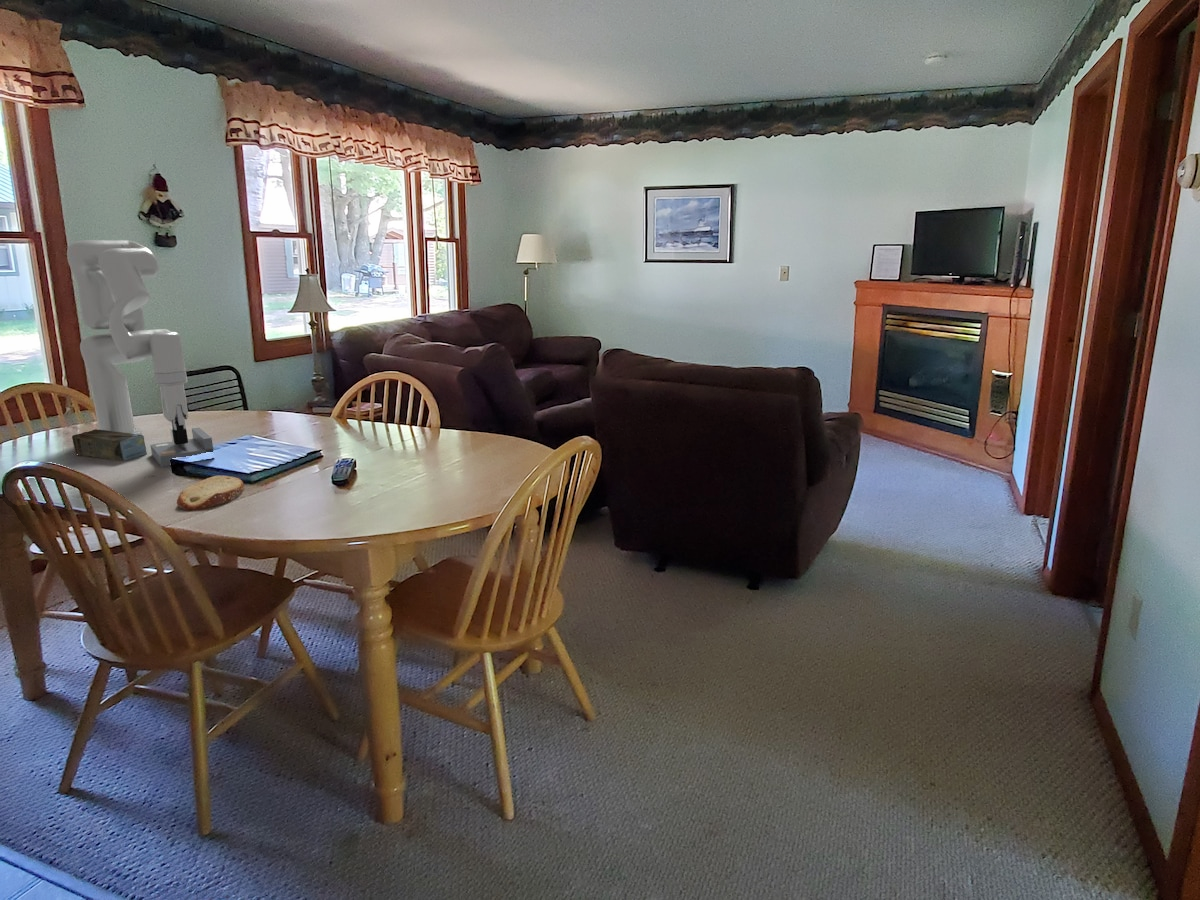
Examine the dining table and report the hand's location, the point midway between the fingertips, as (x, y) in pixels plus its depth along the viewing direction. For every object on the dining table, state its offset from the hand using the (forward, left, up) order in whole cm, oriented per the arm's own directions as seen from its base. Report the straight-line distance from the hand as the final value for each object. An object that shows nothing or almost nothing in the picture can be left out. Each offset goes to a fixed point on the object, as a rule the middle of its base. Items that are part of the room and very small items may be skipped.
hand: (181, 443), depth 218 cm
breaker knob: (-4, 0, -1) cm, 4 cm away
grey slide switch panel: (-1, 0, -4) cm, 4 cm away
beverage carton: (-17, -15, -5) cm, 24 cm away
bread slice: (+42, -2, -5) cm, 42 cm away
